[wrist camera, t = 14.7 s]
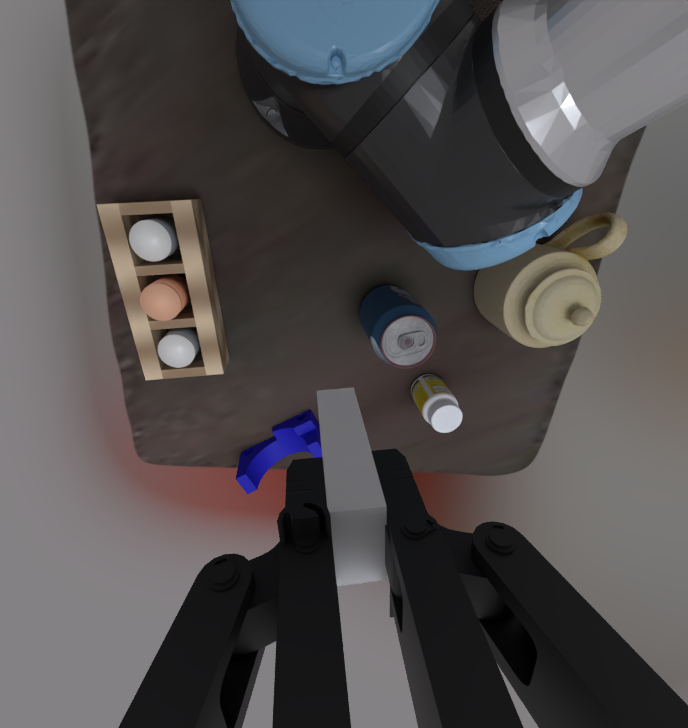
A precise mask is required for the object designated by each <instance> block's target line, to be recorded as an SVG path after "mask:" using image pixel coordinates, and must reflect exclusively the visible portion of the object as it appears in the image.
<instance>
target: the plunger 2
mask: <svg viewBox="0 0 688 728" xmlns="http://www.w3.org/2000/svg"><path fill="white" fill-rule="evenodd" d="M200 348H201V347H200V342H199V337H198V332H197V327H184V328H172V329H171V330H170V331H169V332H168V333H167V334H166V335H165V336H164V338H163V339H162V340H161V341H160V342H159V344H158V354H159V357H160V358H161V360H162V361H163V362H164V363H166V364H167V365H169V366H171V367H176V368H181V367H185V366H187V365H189V364H190V363H191V362H192V361H193V359H194V358H195V356H196V354H197V353H198V351H199V349H200Z"/></svg>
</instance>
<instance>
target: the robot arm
mask: <svg viewBox="0 0 688 728" xmlns="http://www.w3.org/2000/svg"><path fill="white" fill-rule="evenodd" d="M230 1H231V5H232V10H233V11H234V13H235V14H236V18H237V23H238V29H237V44H236V47H237V61H238V68H239V72H240V76H241V80H242V83H243V86H244V89H245V91H246V93H247V96H248V98H249V100H250V102H251V103H252V105H253V107H254V109H255V110H256V112H257V113H258V115H259V116H260V118H261V119H262V120H263V121H264V122H265V124H266V125H267V126H268V127H269V128H270V129H271V130H273V131H274V132H275V133H276V134H277V135H279V136H280V137H282V138H283V139H285V140H287V141H289V142H290V143H293V144H295V145H298V146H301V147H305V148H310V149H327V148H332V147H336V149H337V150H338V151H339V152H340V153H341V154H342V155H343V156H344V157H345V158H344V159H345V160H346V161H347V162H348V163H349V164H350V166H351V167H352V168H353V169H354V170H355V171H356V172H357V174H358V175H359V176H360V177H361V178H362V179H363V180H364V182H365V183H366V184H367V185H368V186H369V187H370V188H371V190H372V191H373V192H374V193H375V194H376V195H377V196H378V198H379V199H380V200H381V201H382V202H383V203H384V205H385V206H386V207H387V208H388V209H389V210H390V211H391V213H392V214H393V215H394V216H395V217H396V218H397V219H398V221H399V222H400V223H401V224H402V225H403V226H404V227H405V229H406V230H407V232H408V234H409V235H410V237H411V238H412V240H414V241H415V242H416V243H417V244H418V245H420V246H422V247H424V248H425V249H426V250H427V251H428V252H429V253H430V254H431V255H432V256H433V257H434V258H435V259H436V260H437V261H438V262H439V263H441V264H442V265H444V266H446V267H448V268H452V269H456V270H477V269H482V268H487V267H491V266H494V265H497V264H500V263H503V262H506V261H508V260H510V259H513V258H515V257H517V256H519V255H521V254H523V253H524V252H526V251H528V250H529V249H531V248H533V247H534V246H535V244H536V243H535V242H536V241H537V239H539V238H542V237H547V236H550V235H551V234H553V233H554V232H555V231H556V230H557V229H559V228H560V227H561V226H562V225H563V224H564V223H565V222H566V221H567V219H568V218H569V217H570V216H571V214H572V213H573V212H574V210H575V209H576V208H577V205H578V203H579V201H580V198H581V196H582V188H583V187H585V186H587V185H589V184H591V183H593V182H594V181H595V180H597V179H598V178H599V176H600V175H601V173H602V171H603V169H604V167H605V165H606V162H607V160H608V158H609V156H610V154H611V152H612V149H613V147H614V146H615V145H616V144H617V142H618V141H619V140H620V139H622V138H624V137H625V136H627V135H629V134H631V133H633V132H634V131H636V130H638V129H640V128H642V127H643V126H645V125H647V124H649V123H651V122H652V121H654V120H656V119H658V118H659V117H661V116H663V115H665V114H667V113H669V112H670V111H672V110H674V109H676V108H678V107H679V106H681V105H683V104H685V103H687V102H688V0H503V1H502V2H501V3H500V4H499V5H498V6H497V7H496V8H495V9H494V10H493V12H492V13H491V14H490V15H489V16H488V17H487V18H486V19H485V20H484V21H483V22H482V21H481V20H480V18H479V17H478V16H477V14H476V13H475V11H474V9H473V8H472V6H471V4H470V3H469V1H468V0H230ZM317 400H318V412H319V425H320V437H321V449H322V457H318V458H308V459H298V460H293V461H292V463H291V465H290V466H289V468H288V469H287V478H286V502H285V508H284V509H283V510H282V511H281V512H280V514H279V517H278V520H277V524H278V530H279V537H280V542H279V543H278V544H277V545H276V546H275V547H274V548H273V549H272V550H270V551H269V552H267V553H265V554H263V555H261V556H259V557H256V558H254V559H252V560H249V561H248V560H247V559H246V558H245V557H244V556H241V555H238V554H225V555H222V556H219V557H217V558H214V559H213V560H211V561H210V562H209V563H207V564H206V565H205V566H204V567H203V569H202V570H201V571H200V573H199V574H198V575H197V577H196V579H195V582H194V583H193V585H192V587H191V589H190V591H189V593H188V595H187V597H186V599H185V601H184V603H183V605H182V606H181V608H180V610H179V612H178V614H177V616H176V618H175V620H174V622H173V624H172V626H171V628H170V630H169V632H168V633H167V635H166V637H165V639H164V641H163V643H162V645H161V647H160V649H159V651H158V653H157V654H156V656H155V658H154V660H153V662H152V665H151V666H150V668H149V670H148V672H147V674H146V676H145V678H144V680H143V681H142V683H141V685H140V687H139V689H138V691H137V693H136V695H135V697H134V699H133V701H132V703H131V705H130V707H129V708H128V711H127V712H126V714H125V716H124V718H123V720H122V722H121V724H120V726H119V728H242V725H243V722H244V718H245V715H246V711H247V708H248V704H249V701H250V698H251V694H252V691H253V688H254V684H255V681H256V677H257V674H258V670H259V667H260V663H261V660H262V657H263V653H264V650H265V646H267V645H269V644H271V643H273V642H275V641H276V663H275V684H274V685H275V686H274V706H273V728H351V722H350V712H349V704H348V703H349V702H348V692H347V682H346V673H345V663H344V653H343V643H342V633H341V623H340V613H339V603H338V593H337V586H341V585H350V584H357V583H365V582H373V581H381V580H386V573H387V574H388V578H389V582H390V617H394V619H395V624H396V628H397V633H398V637H399V642H400V646H401V650H402V655H403V660H404V664H405V669H406V673H407V678H408V682H409V687H410V692H411V696H412V701H413V705H414V710H415V714H416V719H417V723H418V728H523V726H522V724H521V721H520V718H519V716H518V714H517V711H516V709H515V706H514V704H513V701H512V699H511V697H510V694H509V692H508V689H507V687H506V685H505V682H504V680H503V677H502V675H501V673H500V671H499V668H498V665H499V667H500V669H501V670H502V672H503V673H504V675H505V676H506V677H507V679H508V681H509V682H510V684H511V685H512V687H513V688H514V690H515V692H516V693H517V695H518V696H519V698H520V699H521V701H522V702H523V704H524V705H525V707H526V708H527V710H528V711H529V713H530V714H531V716H532V718H533V719H534V721H535V722H536V724H537V725H538V727H539V728H688V705H687V704H686V703H685V702H684V701H683V700H682V699H681V698H680V697H679V696H678V695H677V694H676V693H675V692H674V691H673V690H672V689H671V688H670V687H669V686H668V685H667V684H666V682H665V681H664V680H663V679H662V678H661V677H660V676H659V675H658V674H657V673H656V672H655V671H654V670H653V669H652V668H651V667H650V666H649V665H648V664H647V663H646V662H645V661H644V660H643V659H642V658H641V657H640V656H639V655H638V654H637V653H636V652H635V651H634V649H632V647H630V645H629V644H628V643H627V642H626V641H625V640H624V639H623V638H622V637H621V636H620V635H619V634H618V633H617V632H616V631H615V630H614V629H613V628H612V627H611V626H610V625H609V624H608V623H607V622H606V621H605V620H604V619H603V618H602V617H601V615H600V614H599V613H598V612H597V611H596V610H595V609H594V608H593V607H592V606H591V605H590V604H589V603H588V602H587V601H586V600H585V599H584V598H583V597H582V596H581V595H580V594H579V593H578V592H577V591H576V590H575V589H574V588H573V587H572V586H571V585H570V584H569V582H568V581H566V579H565V578H564V577H563V576H562V575H561V574H560V573H559V572H558V571H557V570H556V569H555V568H554V567H553V566H552V565H551V564H550V563H549V562H548V561H547V560H546V559H545V558H544V557H543V556H542V555H541V554H540V553H539V552H538V550H536V548H535V547H534V546H533V545H532V544H531V543H530V542H529V541H528V540H527V539H526V538H525V537H524V536H523V535H522V534H521V533H520V532H518V531H517V530H516V529H514V528H513V527H511V526H509V525H506V524H504V523H499V522H486V523H482V524H481V525H479V526H477V527H476V529H475V531H474V533H473V534H472V533H465V532H459V531H454V530H450V529H447V528H445V527H443V526H440V525H439V524H438V523H437V521H436V520H435V519H434V518H433V517H431V516H430V515H429V514H428V513H427V511H426V508H425V505H424V503H423V501H422V498H421V495H420V493H419V490H418V488H417V485H416V483H415V480H414V479H413V475H412V473H411V470H410V468H409V465H408V463H407V460H406V458H405V456H403V455H402V454H401V453H400V452H399V451H398V450H397V449H387V450H377V451H371V448H370V445H369V441H368V437H367V434H366V430H365V427H364V423H363V419H362V416H361V412H360V409H359V405H358V401H357V398H356V394H355V391H354V388H344V389H332V390H321V391H317ZM496 662H497V663H496ZM497 664H498V665H497Z"/></svg>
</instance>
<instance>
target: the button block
mask: <svg viewBox="0 0 688 728" xmlns="http://www.w3.org/2000/svg"><path fill="white" fill-rule="evenodd" d="M97 208H98V212H99V215H100V219H101V222H102V226H103V229H104V233H105V237H106V240H107V244H108V247H109V251H110V254H111V258H112V262H113V265H114V269H115V272H116V276H117V279H118V283H119V287H120V290H121V294H122V297H123V301H124V304H125V308H126V312H127V315H128V319H129V322H130V326H131V330H132V333H133V337H134V340H135V344H136V347H137V351H138V355H139V358H140V362H141V365H142V369H143V372H144V376H145V380H155V379H167V378H179V377H191V376H203V375H215V374H224V371H225V369H226V366H227V364H228V361H229V353H228V348H227V342H226V337H225V331H224V325H223V320H222V314H221V308H220V303H219V297H218V291H217V286H216V280H215V275H214V269H213V263H212V258H211V252H210V246H209V241H208V235H207V230H206V224H205V218H204V213H203V207H202V201H201V199H187V200H167V201H146V202H126V203H110V204H98V205H97ZM160 213H173V217H174V221H175V226H176V231H177V236H178V241H179V245H180V250H181V255H182V257H181V258H164V259H162V260H160V261H147V260H145V259H143V258H141V257H139V256H138V255H137V254H136V253H135V252H134V250H133V249H132V247H131V245H130V241H129V233H130V230H131V228H132V227H133V225H134V224H136V223H137V222H139V221H140V220H139V216H138V215H141V214H160ZM178 273H185V274H186V279H187V284H188V289H189V294H190V298H191V303H192V308H183V309H182V311H181V312H180V313H179V314H178V315H177V316H176V317H175V318H173V319H171V320H168V321H159V320H155V319H153V318H151V317H150V316H148V315H147V314H146V313H145V312H144V310H143V309H142V306H141V303H140V296H141V293H142V291H143V290H144V288H146V287H147V286H148V285H150V284H151V283H153V282H154V278H153V275H163V274H178ZM184 327H197V332H198V337H199V342H200V347H201V351H202V353H198V354H196V356H195V358H194V359H193V361H192V362H191V363H190V364H189V365H187V366H185V367H181V368H176V367H171V366H169V365H167V364H166V363H164V362H163V361H162V360H161V358H160V357H159V354H158V344H159V342H160V341H161V340H162V339H163V338H164V336H165V335H166V334H167V332H166V329H170V328H184Z"/></svg>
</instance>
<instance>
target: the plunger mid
mask: <svg viewBox="0 0 688 728" xmlns="http://www.w3.org/2000/svg"><path fill="white" fill-rule="evenodd" d="M190 300H191V298H190V294H189V289H188V284H187V281H186V280H185V279H184V278H182V277H181V276H178V275H175V274H167V275H164V276H162V277H161V278H159V279H158V280H156V281H154V282H153V283H151V284H150V285H148V286H147V287H146V288H144V290H143V291H142V293H141V296H140V303H141V306H142V309H143V310H144V312H145V313H146V314H147V315H148V316H150V317H151V318H153V319H155V320H159V321H168V320H171V319H173V318H175V317H176V316H177V315H178V314H179V313H180V312H181V311H182V309H183V308H184V307H185V306H186V305H187V304H188V303H189V302H190Z"/></svg>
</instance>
